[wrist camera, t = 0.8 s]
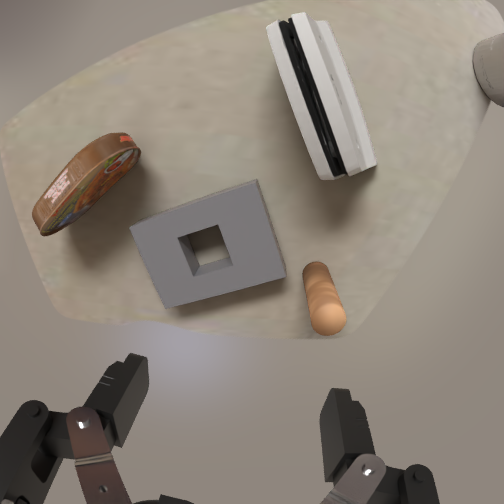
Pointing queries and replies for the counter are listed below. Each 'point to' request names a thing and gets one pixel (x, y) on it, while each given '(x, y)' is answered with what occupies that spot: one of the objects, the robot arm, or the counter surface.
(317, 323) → the peg
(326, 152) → the hinge
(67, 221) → the tin
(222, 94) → the counter surface
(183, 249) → the hole block
